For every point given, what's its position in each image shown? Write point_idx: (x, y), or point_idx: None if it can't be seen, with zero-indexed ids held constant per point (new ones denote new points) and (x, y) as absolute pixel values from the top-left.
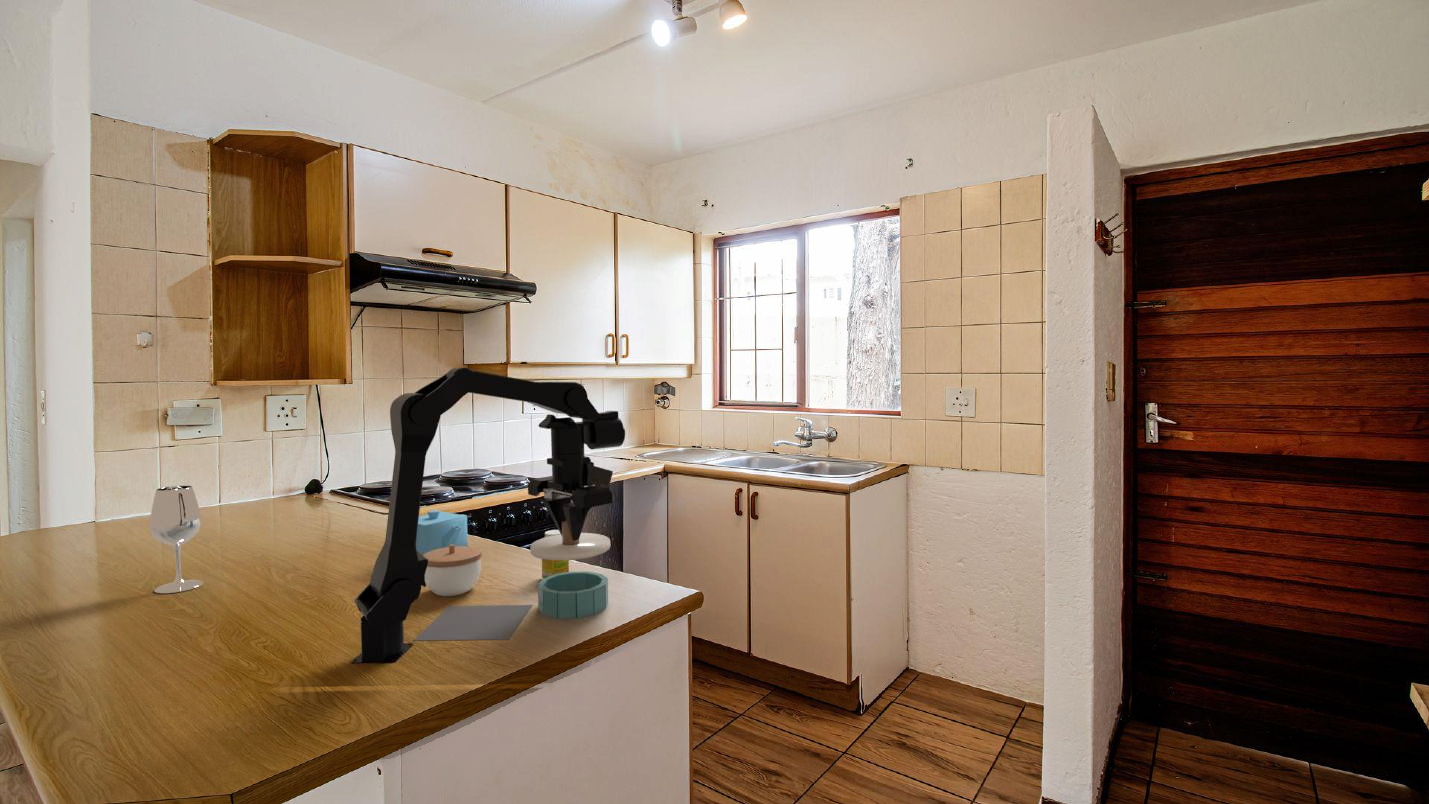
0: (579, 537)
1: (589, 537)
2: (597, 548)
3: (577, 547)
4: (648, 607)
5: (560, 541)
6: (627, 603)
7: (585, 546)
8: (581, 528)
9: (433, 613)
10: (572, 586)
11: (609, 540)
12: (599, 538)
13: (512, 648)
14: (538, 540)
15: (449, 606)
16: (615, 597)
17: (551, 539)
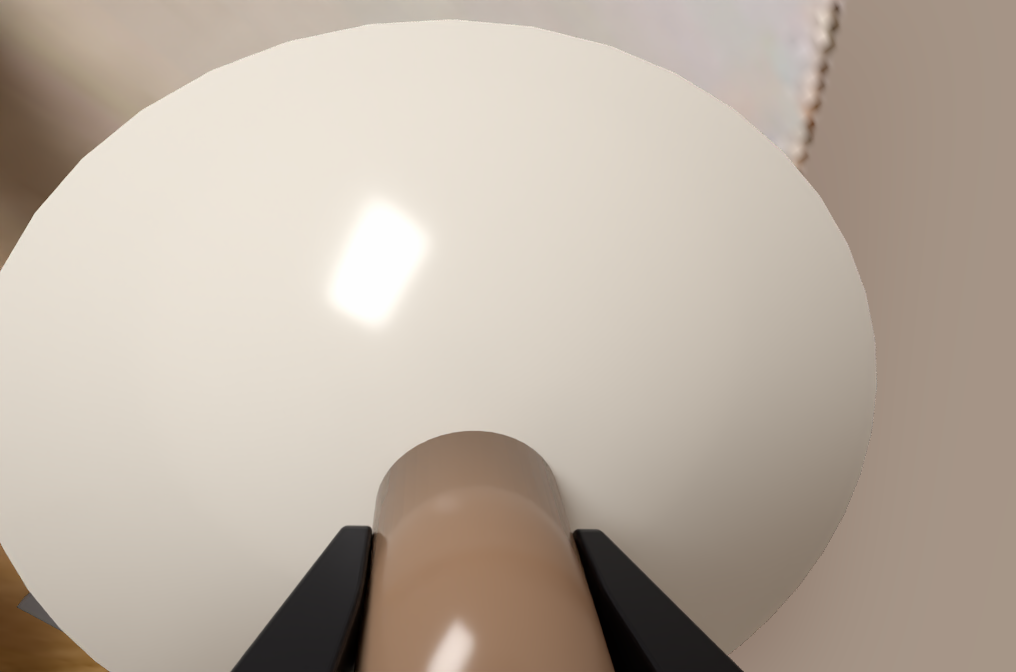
0: (613, 543)
1: (462, 239)
2: (841, 467)
3: (645, 549)
4: (780, 17)
5: (317, 533)
6: (642, 41)
7: (691, 491)
8: (694, 638)
9: (41, 644)
10: None
11: (803, 191)
12: (620, 195)
13: None
14: (87, 635)
15: (24, 607)
16: (515, 2)
17: (157, 549)
